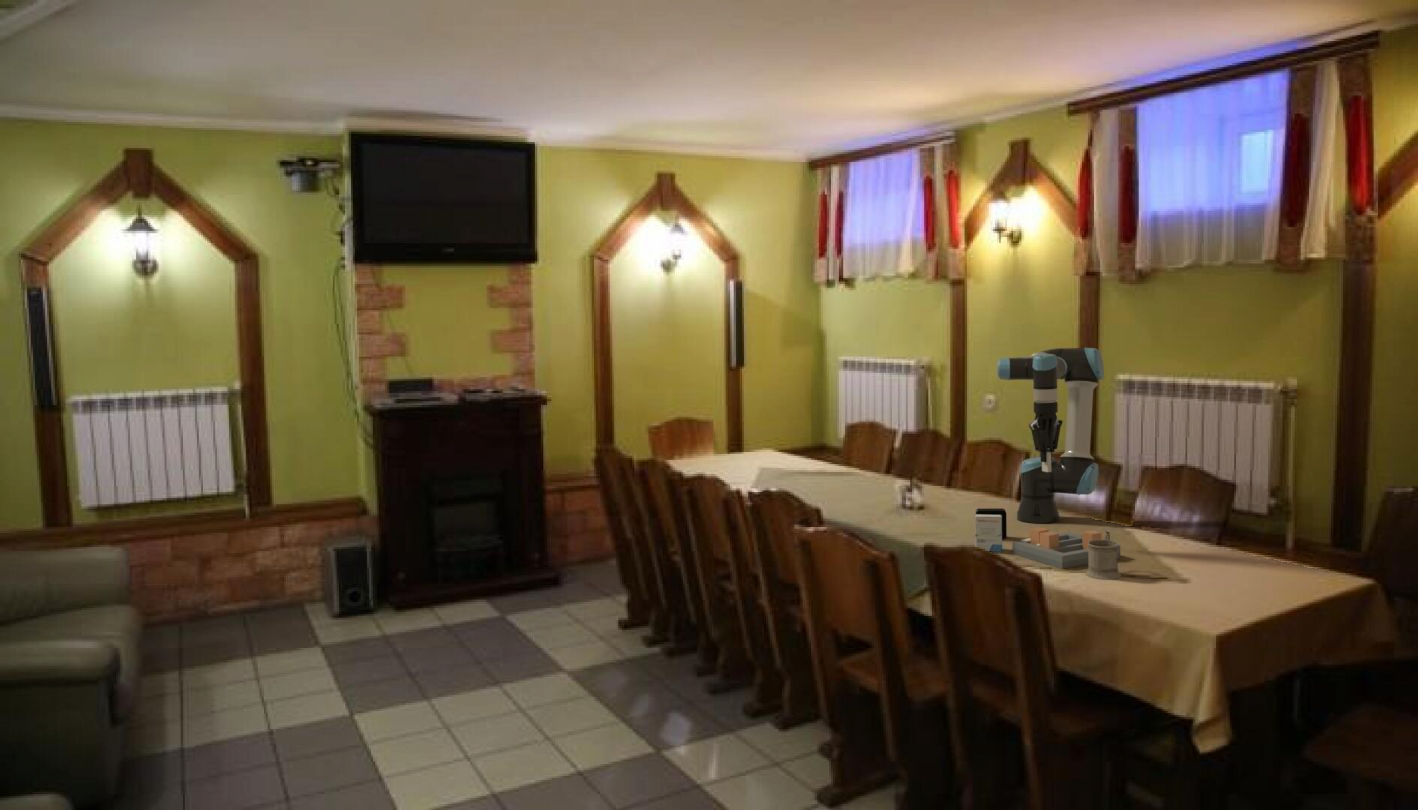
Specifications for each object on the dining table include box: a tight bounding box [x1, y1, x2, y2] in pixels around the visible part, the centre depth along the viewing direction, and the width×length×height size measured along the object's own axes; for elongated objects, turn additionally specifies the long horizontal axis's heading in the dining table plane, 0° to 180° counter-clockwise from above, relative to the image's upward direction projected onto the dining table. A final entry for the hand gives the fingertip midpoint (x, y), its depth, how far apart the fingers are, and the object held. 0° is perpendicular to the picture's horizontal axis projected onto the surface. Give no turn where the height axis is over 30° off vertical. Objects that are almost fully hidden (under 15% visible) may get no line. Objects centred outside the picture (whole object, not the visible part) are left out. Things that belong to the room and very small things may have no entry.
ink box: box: [974, 513, 1003, 553], centre depth 328 cm, size 9×5×12 cm, turn 71°
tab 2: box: [1040, 531, 1060, 549], centre depth 314 cm, size 4×4×6 cm
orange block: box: [1081, 529, 1103, 550], centre depth 314 cm, size 4×4×6 cm
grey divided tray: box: [1011, 531, 1121, 570], centre depth 317 cm, size 24×22×4 cm
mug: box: [1085, 529, 1122, 581], centre depth 296 cm, size 14×10×12 cm
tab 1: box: [1029, 527, 1050, 545], centre depth 320 cm, size 4×4×6 cm
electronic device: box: [975, 507, 1008, 540], centre depth 345 cm, size 4×10×10 cm, turn 78°
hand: (1046, 471), depth 330 cm, fingers closed
